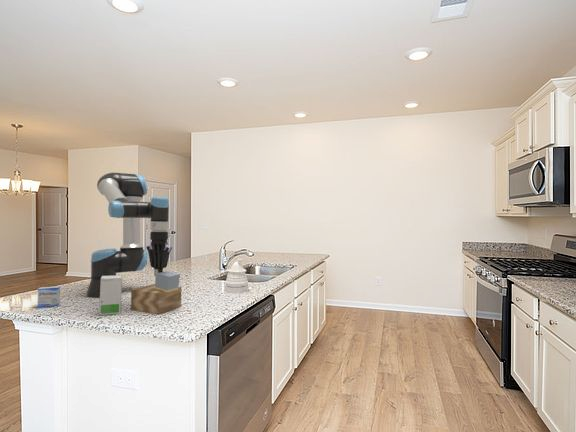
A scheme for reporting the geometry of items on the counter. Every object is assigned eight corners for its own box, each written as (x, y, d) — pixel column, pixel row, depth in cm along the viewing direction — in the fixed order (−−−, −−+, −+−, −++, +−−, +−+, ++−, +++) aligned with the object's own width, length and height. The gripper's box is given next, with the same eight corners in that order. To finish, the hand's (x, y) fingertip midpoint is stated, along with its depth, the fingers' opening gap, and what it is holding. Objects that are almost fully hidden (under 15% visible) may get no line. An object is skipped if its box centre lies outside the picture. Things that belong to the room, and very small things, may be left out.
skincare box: (98, 315, 141) (99, 278, 141) (100, 311, 147) (101, 275, 147) (121, 313, 144) (121, 277, 144) (122, 309, 150) (122, 274, 150)
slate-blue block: (154, 288, 149) (156, 273, 149) (166, 285, 156) (168, 270, 155) (166, 292, 146) (168, 276, 146) (178, 289, 153) (180, 274, 153)
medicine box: (37, 308, 150) (37, 288, 150) (39, 306, 154) (39, 286, 154) (58, 306, 153) (59, 287, 153) (60, 304, 157) (60, 285, 157)
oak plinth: (130, 309, 150) (131, 289, 150) (154, 302, 163) (154, 283, 163) (158, 314, 144) (159, 293, 144) (181, 306, 157) (181, 287, 157)
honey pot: (252, 290, 192) (253, 258, 192) (237, 294, 182) (238, 261, 182) (235, 287, 199) (236, 257, 199) (220, 291, 189) (220, 259, 188)
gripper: (142, 231, 152) (141, 283, 152) (164, 231, 147) (163, 286, 147) (154, 230, 159) (153, 280, 159) (176, 231, 154) (175, 283, 154)
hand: (158, 283), depth 153 cm, fingers closed
